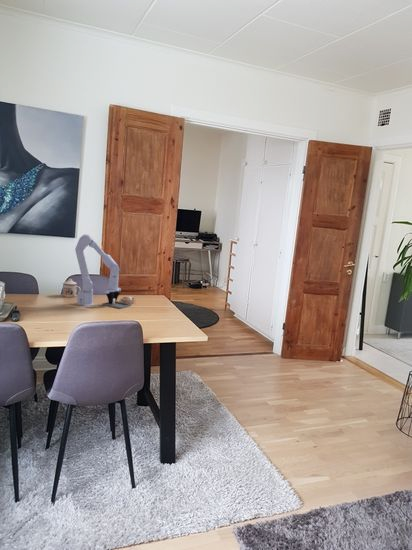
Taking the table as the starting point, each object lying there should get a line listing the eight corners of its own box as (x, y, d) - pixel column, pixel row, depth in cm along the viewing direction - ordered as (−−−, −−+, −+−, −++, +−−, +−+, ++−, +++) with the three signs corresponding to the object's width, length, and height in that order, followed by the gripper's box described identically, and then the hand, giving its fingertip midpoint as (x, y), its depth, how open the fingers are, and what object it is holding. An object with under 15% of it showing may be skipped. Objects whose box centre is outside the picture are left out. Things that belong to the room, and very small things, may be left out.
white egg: (129, 303, 279) (130, 297, 278) (125, 302, 281) (125, 296, 280) (132, 303, 282) (133, 297, 282) (128, 302, 284) (128, 296, 283)
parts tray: (120, 309, 263) (120, 307, 263) (102, 305, 268) (102, 303, 268) (131, 306, 274) (131, 304, 274) (113, 302, 279) (113, 300, 279)
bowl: (130, 305, 277) (130, 300, 276) (117, 303, 280) (117, 298, 280) (138, 303, 286) (138, 298, 286) (125, 300, 290) (126, 296, 289)
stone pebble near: (112, 305, 270) (113, 299, 270) (108, 304, 272) (108, 298, 271) (116, 304, 274) (116, 298, 273) (111, 303, 275) (111, 297, 274)
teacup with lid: (60, 296, 283) (61, 279, 281) (65, 294, 292) (66, 277, 290) (77, 298, 282) (78, 281, 281) (82, 296, 291) (83, 279, 290)
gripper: (112, 284, 262) (110, 305, 264) (125, 282, 276) (123, 302, 278) (102, 283, 265) (101, 304, 267) (116, 280, 278) (114, 300, 280)
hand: (112, 303), depth 272 cm, fingers closed on stone pebble near, 4 cm apart
